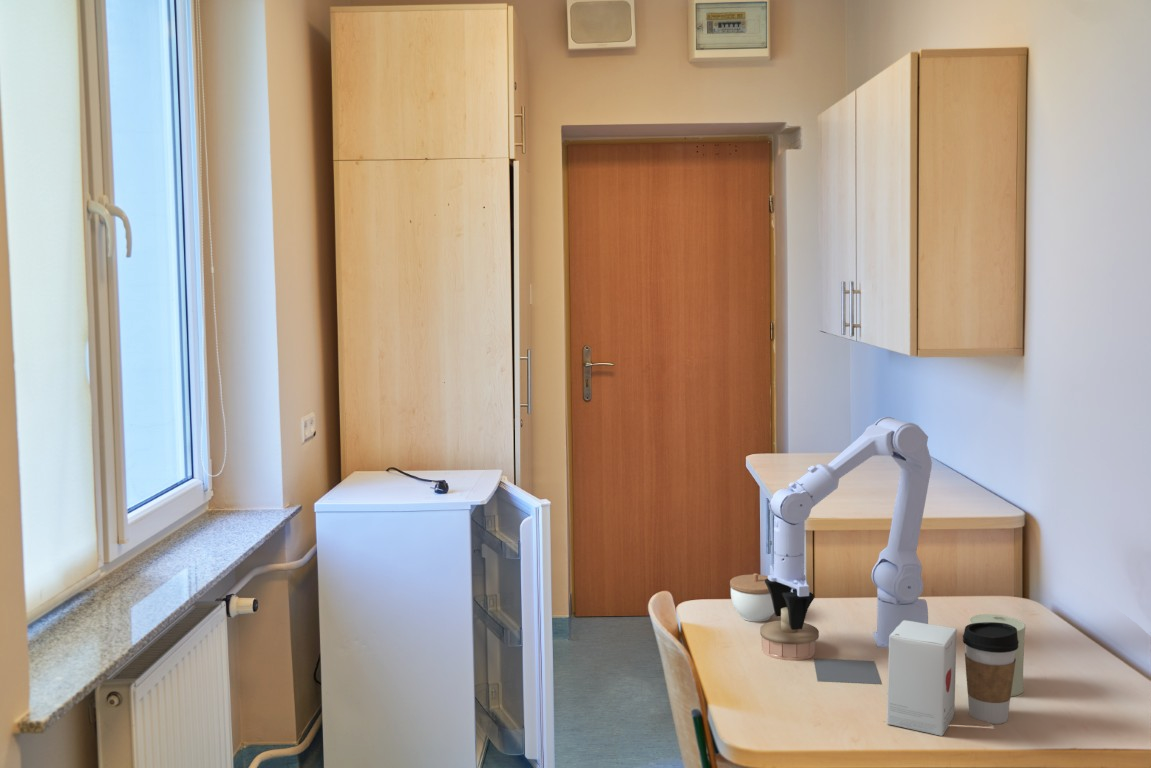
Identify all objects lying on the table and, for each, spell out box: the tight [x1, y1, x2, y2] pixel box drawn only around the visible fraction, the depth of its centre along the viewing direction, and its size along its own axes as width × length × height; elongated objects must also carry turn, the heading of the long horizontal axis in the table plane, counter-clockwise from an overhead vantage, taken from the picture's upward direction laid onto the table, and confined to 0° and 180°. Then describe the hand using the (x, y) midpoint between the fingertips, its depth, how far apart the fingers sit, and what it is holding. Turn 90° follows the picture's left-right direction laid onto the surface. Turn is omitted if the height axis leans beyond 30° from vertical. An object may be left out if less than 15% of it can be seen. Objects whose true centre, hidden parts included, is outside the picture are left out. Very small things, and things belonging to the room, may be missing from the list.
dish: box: [761, 636, 817, 661], centre depth 198 cm, size 10×10×4 cm
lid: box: [759, 607, 820, 644], centre depth 198 cm, size 11×11×5 cm
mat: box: [813, 657, 882, 685], centre depth 188 cm, size 11×11×1 cm
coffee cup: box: [962, 622, 1019, 725], centre depth 168 cm, size 8×8×15 cm
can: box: [968, 613, 1026, 697], centre depth 180 cm, size 9×9×12 cm
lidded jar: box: [729, 572, 775, 623], centre depth 218 cm, size 11×11×9 cm
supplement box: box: [886, 620, 958, 737], centre depth 167 cm, size 9×9×15 cm
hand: (788, 622), depth 198 cm, fingers open, 7 cm apart
